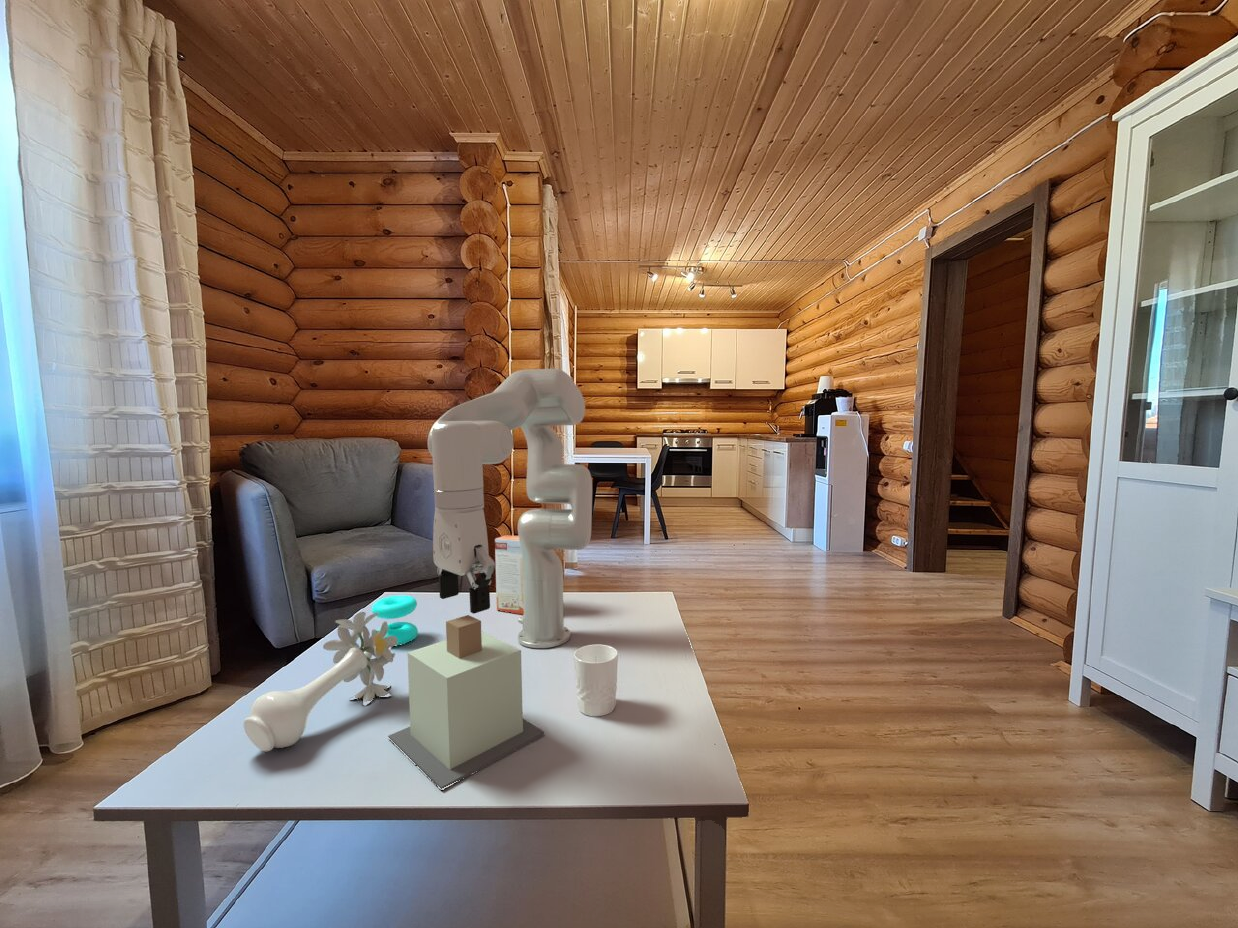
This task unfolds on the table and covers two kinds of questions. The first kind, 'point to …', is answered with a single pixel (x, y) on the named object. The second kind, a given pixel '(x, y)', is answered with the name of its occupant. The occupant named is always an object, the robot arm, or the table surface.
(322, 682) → the flower vase
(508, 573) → the cracker box
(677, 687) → the table surface
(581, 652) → the white cup
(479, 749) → the pale green block
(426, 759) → the mat
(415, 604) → the donuts
